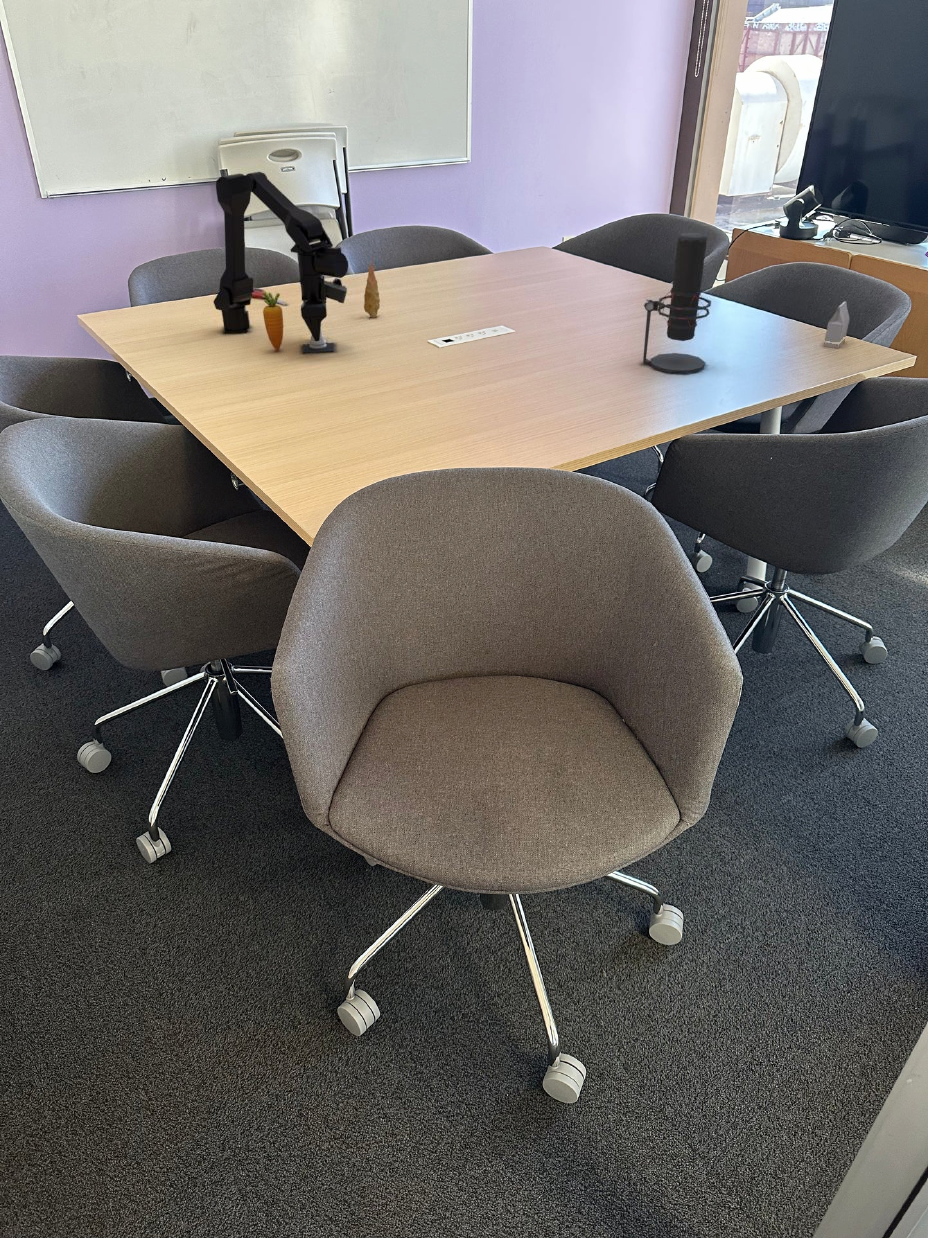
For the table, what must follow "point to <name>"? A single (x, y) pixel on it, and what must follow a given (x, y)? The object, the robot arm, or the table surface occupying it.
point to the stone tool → (371, 294)
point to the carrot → (273, 320)
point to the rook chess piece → (317, 342)
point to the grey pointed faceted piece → (837, 327)
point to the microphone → (681, 305)
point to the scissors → (259, 294)
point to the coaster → (327, 349)
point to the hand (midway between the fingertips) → (317, 335)
